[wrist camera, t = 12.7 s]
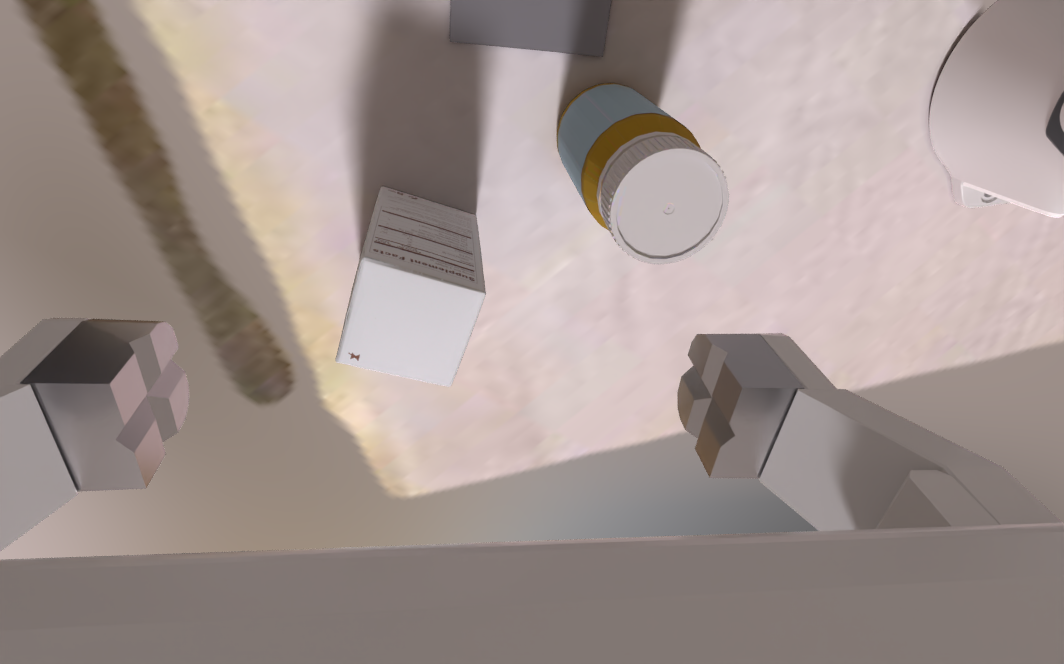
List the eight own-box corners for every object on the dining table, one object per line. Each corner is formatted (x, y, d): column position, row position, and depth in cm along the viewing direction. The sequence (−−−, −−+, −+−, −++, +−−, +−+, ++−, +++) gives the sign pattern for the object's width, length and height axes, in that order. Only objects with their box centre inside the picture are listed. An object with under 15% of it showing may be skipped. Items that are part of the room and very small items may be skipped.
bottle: (615, 58, 39) (693, 106, 27) (669, 138, 43) (761, 214, 30) (535, 128, 41) (573, 204, 29) (592, 200, 44) (649, 296, 32)
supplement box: (450, 295, 47) (450, 392, 37) (357, 269, 45) (329, 365, 35) (480, 213, 44) (490, 294, 33) (381, 180, 42) (358, 256, 31)
